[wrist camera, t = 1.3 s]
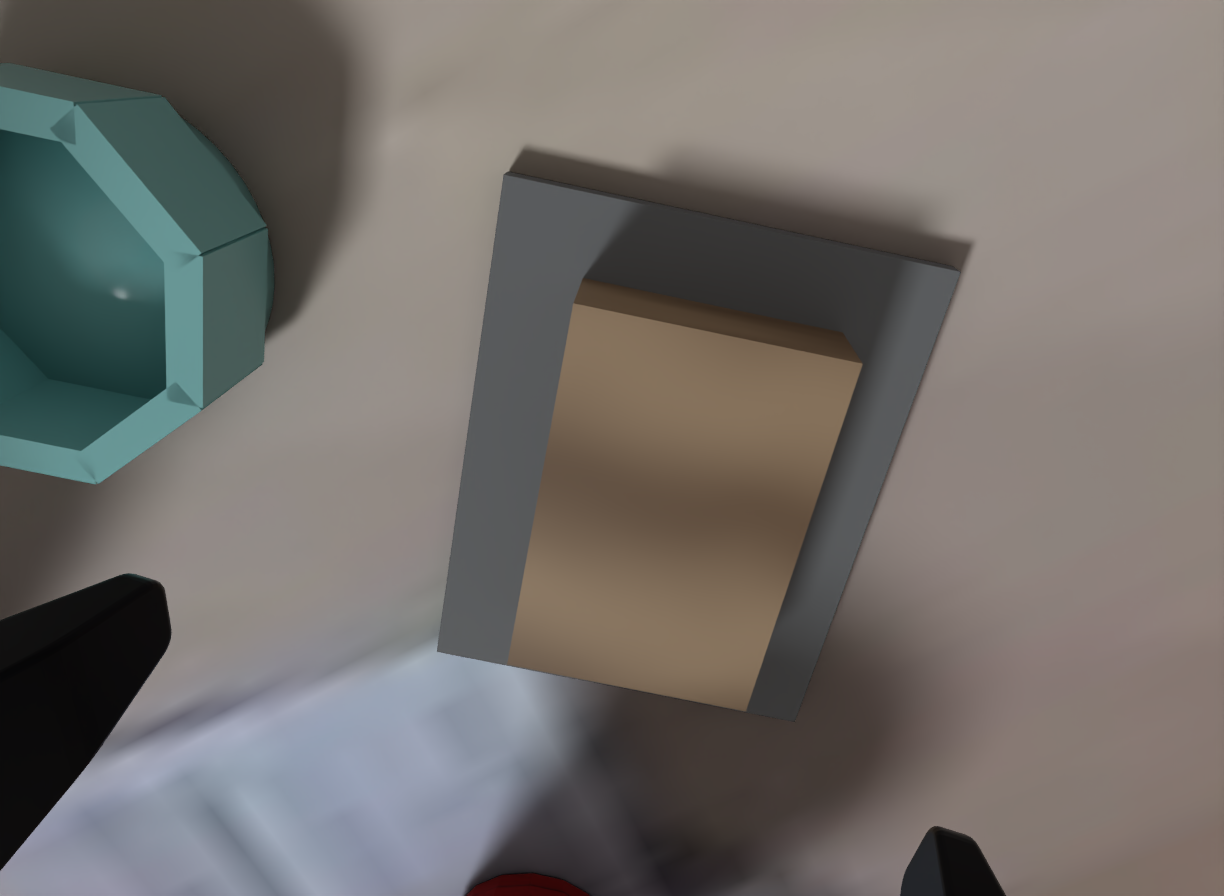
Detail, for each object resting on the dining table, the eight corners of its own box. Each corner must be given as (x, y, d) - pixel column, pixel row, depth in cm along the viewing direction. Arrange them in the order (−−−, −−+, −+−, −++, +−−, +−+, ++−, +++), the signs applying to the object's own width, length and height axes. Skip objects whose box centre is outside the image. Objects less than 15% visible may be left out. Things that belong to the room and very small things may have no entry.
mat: (792, 708, 27) (794, 721, 26) (441, 639, 27) (436, 651, 26) (953, 266, 21) (960, 272, 21) (507, 171, 21) (503, 174, 20)
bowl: (276, 434, 24) (202, 505, 20) (-28, 372, 24) (-161, 433, 20) (289, 116, 21) (202, 129, 17) (-67, 40, 20) (-237, 36, 16)
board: (739, 655, 25) (745, 711, 23) (520, 612, 25) (506, 664, 23) (842, 332, 21) (862, 363, 19) (582, 277, 21) (573, 303, 19)
